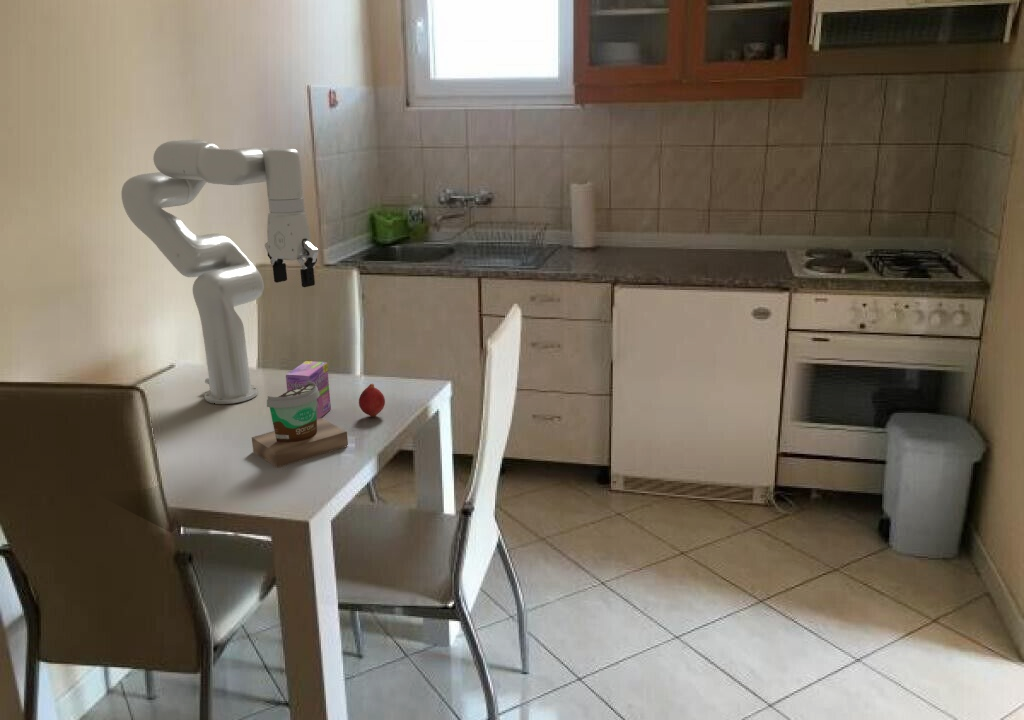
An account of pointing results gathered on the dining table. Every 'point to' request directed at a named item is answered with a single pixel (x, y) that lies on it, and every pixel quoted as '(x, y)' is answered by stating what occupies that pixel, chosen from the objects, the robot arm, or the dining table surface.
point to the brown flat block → (300, 445)
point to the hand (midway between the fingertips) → (294, 283)
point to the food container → (295, 413)
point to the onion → (371, 401)
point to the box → (315, 374)
